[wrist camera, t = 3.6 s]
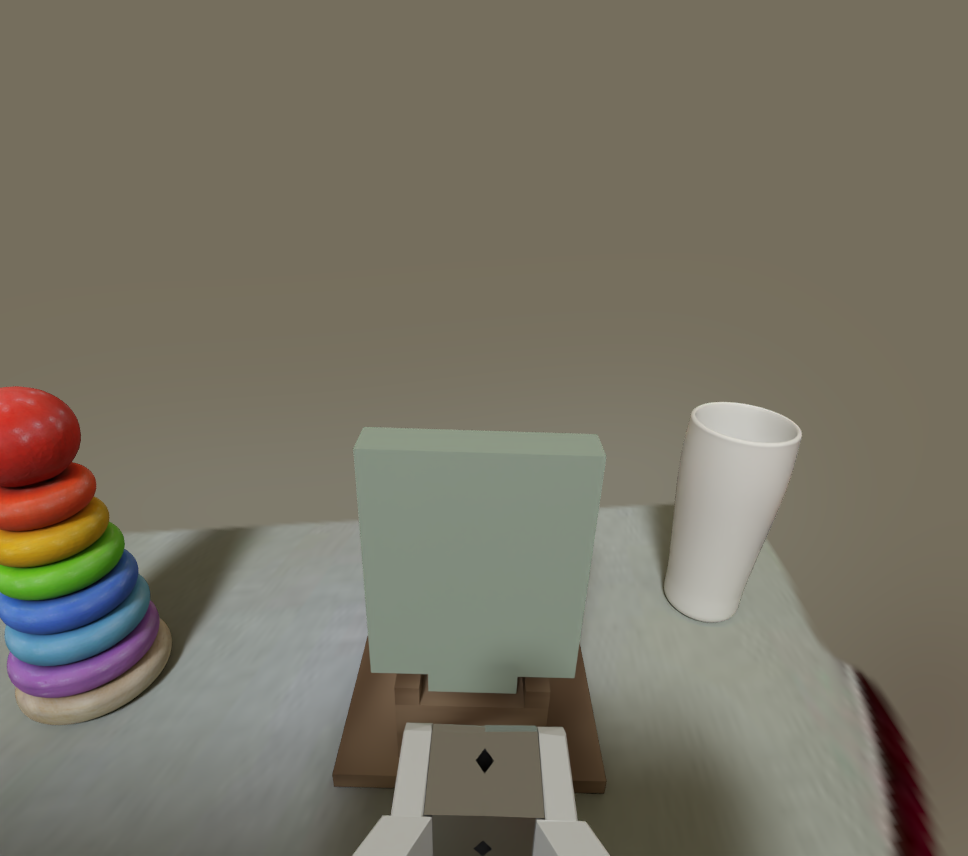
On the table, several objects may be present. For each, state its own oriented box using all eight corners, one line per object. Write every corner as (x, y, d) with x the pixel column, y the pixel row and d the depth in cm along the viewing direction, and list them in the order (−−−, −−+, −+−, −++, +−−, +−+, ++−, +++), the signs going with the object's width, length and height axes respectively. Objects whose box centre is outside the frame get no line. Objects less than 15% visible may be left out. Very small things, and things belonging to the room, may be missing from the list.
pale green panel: (372, 689, 28) (353, 448, 22) (379, 657, 29) (363, 427, 23) (572, 695, 28) (606, 456, 22) (566, 662, 29) (597, 434, 24)
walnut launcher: (334, 786, 28) (322, 704, 26) (395, 538, 47) (392, 476, 45) (603, 793, 29) (620, 712, 26) (557, 543, 48) (564, 481, 45)
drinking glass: (645, 567, 45) (679, 397, 39) (730, 574, 45) (778, 403, 38) (662, 630, 39) (706, 441, 32) (761, 638, 38) (824, 448, 32)
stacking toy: (199, 663, 35) (126, 390, 27) (53, 761, 29) (-96, 448, 21) (139, 608, 39) (61, 356, 31) (1, 684, 33) (-140, 397, 25)
